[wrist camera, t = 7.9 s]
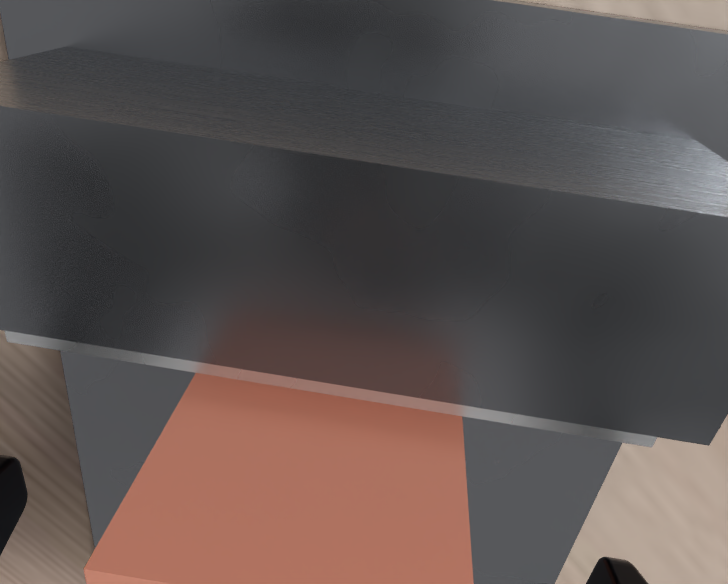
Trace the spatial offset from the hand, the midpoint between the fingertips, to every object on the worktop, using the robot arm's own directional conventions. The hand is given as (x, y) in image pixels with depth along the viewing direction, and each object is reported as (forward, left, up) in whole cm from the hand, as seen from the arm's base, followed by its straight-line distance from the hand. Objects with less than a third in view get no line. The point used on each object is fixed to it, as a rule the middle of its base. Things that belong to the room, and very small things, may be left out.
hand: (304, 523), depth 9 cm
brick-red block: (0, 0, -4) cm, 4 cm away
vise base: (-4, 0, -5) cm, 6 cm away
